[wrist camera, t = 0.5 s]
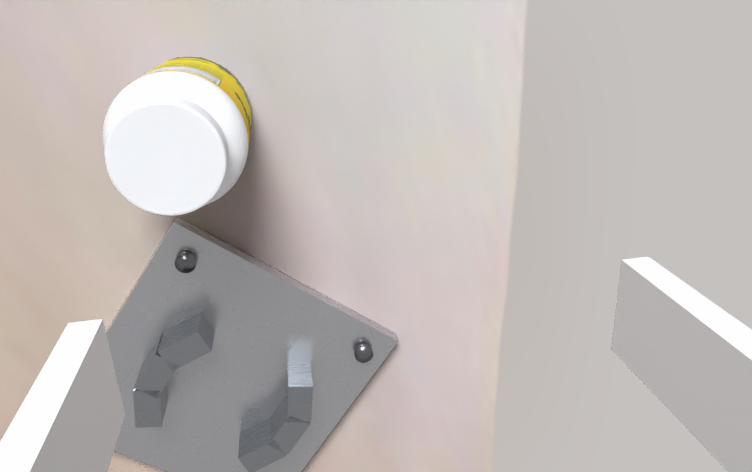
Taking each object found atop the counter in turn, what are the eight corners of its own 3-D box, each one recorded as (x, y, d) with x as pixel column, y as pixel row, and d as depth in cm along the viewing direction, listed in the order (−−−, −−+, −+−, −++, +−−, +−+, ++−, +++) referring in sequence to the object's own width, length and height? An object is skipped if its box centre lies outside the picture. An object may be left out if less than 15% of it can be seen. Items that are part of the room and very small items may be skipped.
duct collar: (54, 416, 40) (36, 453, 37) (176, 216, 37) (167, 238, 34) (270, 501, 46) (271, 540, 42) (395, 333, 42) (406, 362, 39)
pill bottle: (243, 174, 37) (233, 246, 26) (132, 154, 35) (76, 221, 25) (261, 68, 35) (258, 101, 24) (144, 41, 33) (88, 65, 23)
